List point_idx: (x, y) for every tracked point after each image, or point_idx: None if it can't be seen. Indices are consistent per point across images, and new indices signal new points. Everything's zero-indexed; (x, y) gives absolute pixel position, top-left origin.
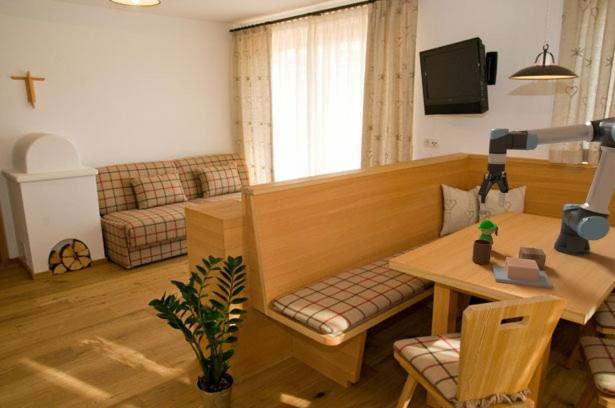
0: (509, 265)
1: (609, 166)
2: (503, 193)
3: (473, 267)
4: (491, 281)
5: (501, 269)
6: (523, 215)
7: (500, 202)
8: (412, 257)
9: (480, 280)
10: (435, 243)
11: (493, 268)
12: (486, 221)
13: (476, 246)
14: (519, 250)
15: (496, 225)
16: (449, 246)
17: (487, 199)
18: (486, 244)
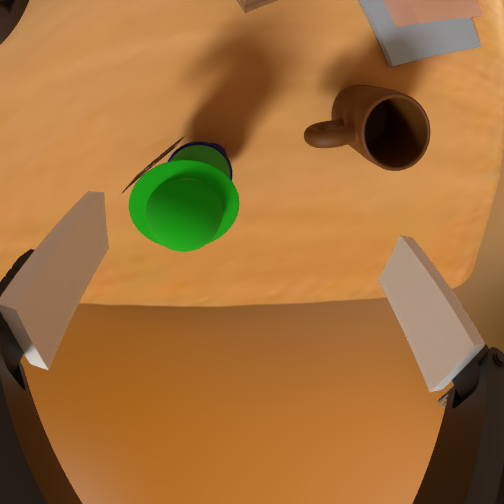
0: (479, 14)
1: None
2: (23, 318)
3: None
4: (481, 56)
5: (414, 35)
6: None
7: (88, 250)
8: None
9: (489, 82)
10: (273, 301)
11: (415, 60)
12: (199, 225)
13: (419, 145)
14: (246, 1)
15: (157, 169)
16: (270, 263)
17: (457, 316)
18: (422, 109)
